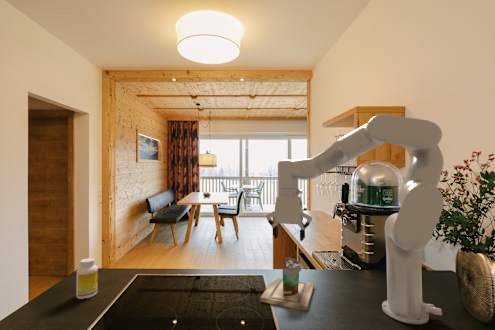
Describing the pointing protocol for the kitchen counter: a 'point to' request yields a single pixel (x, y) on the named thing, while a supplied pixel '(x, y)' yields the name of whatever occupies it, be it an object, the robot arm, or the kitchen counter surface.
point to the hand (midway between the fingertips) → (288, 238)
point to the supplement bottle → (87, 279)
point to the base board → (295, 301)
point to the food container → (291, 277)
